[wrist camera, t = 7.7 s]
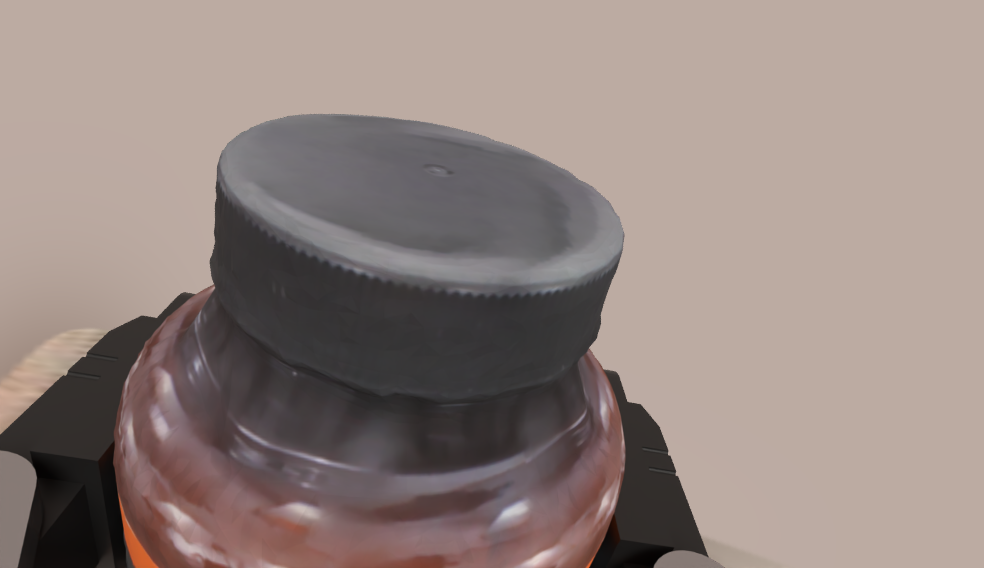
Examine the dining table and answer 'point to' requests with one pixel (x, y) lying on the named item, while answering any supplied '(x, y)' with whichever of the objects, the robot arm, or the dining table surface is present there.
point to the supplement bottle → (380, 362)
